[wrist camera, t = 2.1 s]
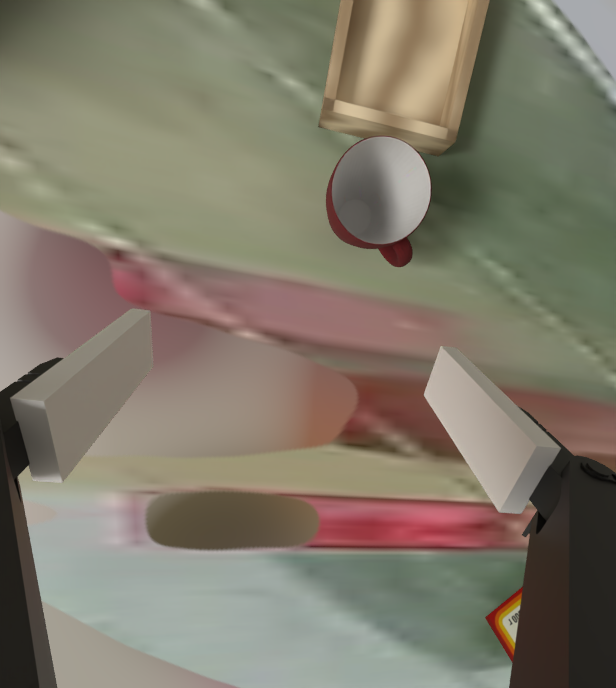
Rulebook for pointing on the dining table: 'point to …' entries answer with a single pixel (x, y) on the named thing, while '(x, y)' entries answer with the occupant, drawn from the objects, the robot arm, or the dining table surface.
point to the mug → (379, 196)
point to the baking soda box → (506, 622)
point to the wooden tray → (402, 69)
